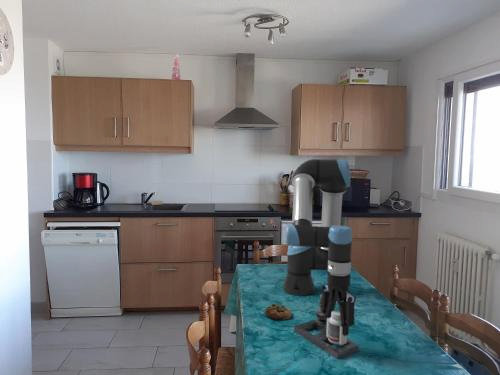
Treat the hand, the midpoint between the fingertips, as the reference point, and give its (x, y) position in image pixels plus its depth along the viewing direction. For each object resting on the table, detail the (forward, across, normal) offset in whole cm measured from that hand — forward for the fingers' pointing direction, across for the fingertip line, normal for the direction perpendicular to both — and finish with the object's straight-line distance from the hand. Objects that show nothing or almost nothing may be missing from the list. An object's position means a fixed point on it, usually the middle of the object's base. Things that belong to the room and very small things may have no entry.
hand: (336, 339), depth 128 cm
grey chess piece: (+3, -17, +10) cm, 20 cm away
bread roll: (+3, -31, -2) cm, 31 cm away
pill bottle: (+1, 0, 0) cm, 1 cm away
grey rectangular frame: (+3, -5, 0) cm, 6 cm away
